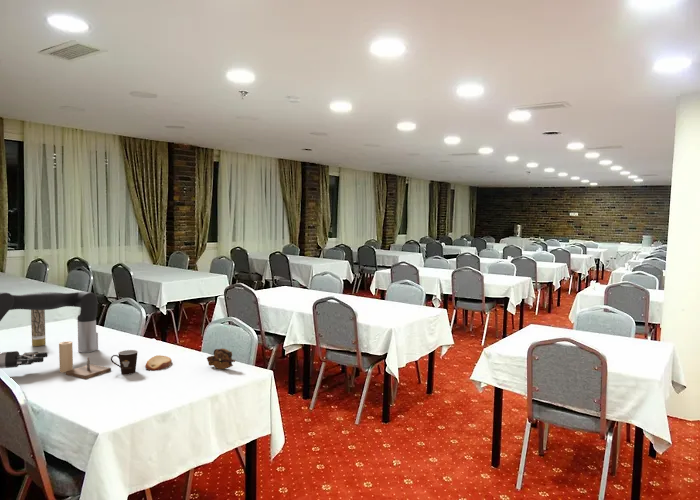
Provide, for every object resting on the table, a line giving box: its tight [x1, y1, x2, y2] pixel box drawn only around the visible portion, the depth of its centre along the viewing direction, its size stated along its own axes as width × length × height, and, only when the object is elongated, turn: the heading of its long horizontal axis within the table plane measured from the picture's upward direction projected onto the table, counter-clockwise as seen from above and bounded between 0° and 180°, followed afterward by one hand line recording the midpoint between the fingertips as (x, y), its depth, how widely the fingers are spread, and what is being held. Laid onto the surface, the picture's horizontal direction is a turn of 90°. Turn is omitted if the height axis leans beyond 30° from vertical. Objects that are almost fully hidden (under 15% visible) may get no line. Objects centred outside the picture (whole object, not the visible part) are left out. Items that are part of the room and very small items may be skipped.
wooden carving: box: [206, 348, 236, 370], centre depth 258 cm, size 16×5×10 cm, turn 70°
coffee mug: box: [110, 349, 139, 375], centre depth 251 cm, size 12×9×10 cm
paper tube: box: [30, 310, 47, 347], centre depth 299 cm, size 7×7×25 cm
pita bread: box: [144, 354, 173, 372], centre depth 264 cm, size 18×18×4 cm
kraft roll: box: [58, 341, 74, 374], centre depth 251 cm, size 5×5×14 cm
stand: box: [65, 357, 112, 380], centre depth 249 cm, size 14×14×8 cm
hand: (45, 357), depth 248 cm, fingers open, 8 cm apart
